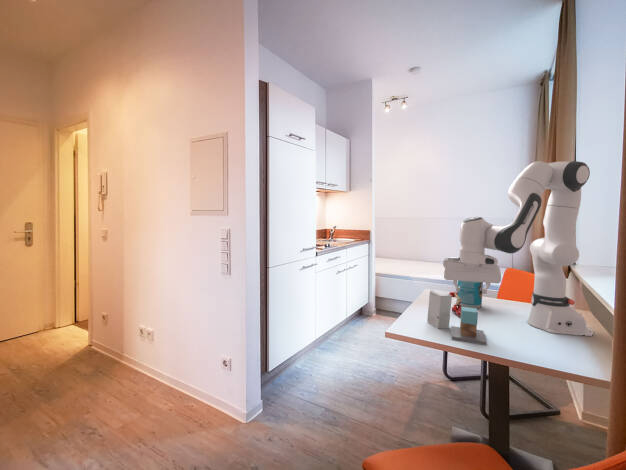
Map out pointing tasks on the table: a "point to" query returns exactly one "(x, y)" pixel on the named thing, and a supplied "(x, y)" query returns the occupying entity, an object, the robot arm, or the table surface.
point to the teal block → (469, 315)
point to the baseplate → (478, 339)
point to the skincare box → (439, 308)
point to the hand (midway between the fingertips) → (471, 292)
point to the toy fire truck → (456, 309)
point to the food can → (470, 294)
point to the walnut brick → (468, 329)
